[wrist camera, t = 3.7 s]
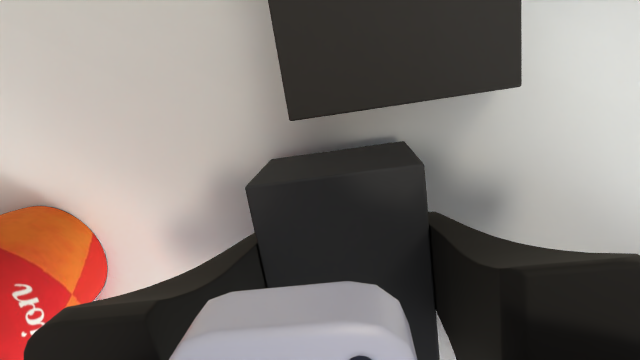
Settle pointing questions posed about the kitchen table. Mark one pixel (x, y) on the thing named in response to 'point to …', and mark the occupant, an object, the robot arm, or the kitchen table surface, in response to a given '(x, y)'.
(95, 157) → the kitchen table surface
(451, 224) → the robot arm
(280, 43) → the base pad
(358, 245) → the black rectangular block
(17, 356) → the paper cup
